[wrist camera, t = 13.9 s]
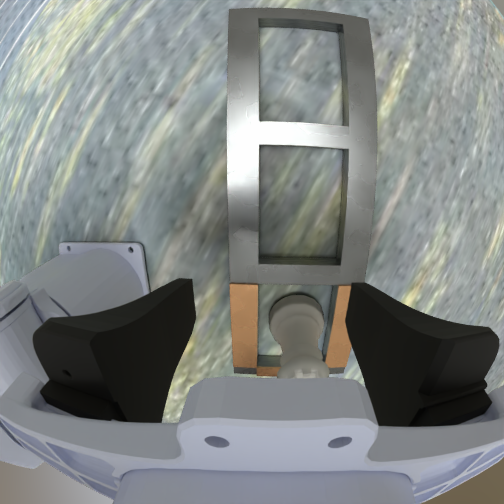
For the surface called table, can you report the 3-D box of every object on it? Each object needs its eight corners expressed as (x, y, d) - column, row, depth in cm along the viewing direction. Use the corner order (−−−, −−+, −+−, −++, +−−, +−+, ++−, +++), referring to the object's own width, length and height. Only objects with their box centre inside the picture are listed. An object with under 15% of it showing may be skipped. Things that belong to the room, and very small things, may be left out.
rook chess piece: (306, 281, 21) (322, 347, 13) (331, 321, 22) (352, 390, 14) (257, 308, 22) (251, 380, 14) (286, 344, 23) (289, 416, 15)
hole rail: (236, 362, 24) (233, 374, 22) (231, 18, 14) (228, 8, 13) (340, 362, 23) (343, 374, 22) (362, 26, 14) (368, 17, 12)
